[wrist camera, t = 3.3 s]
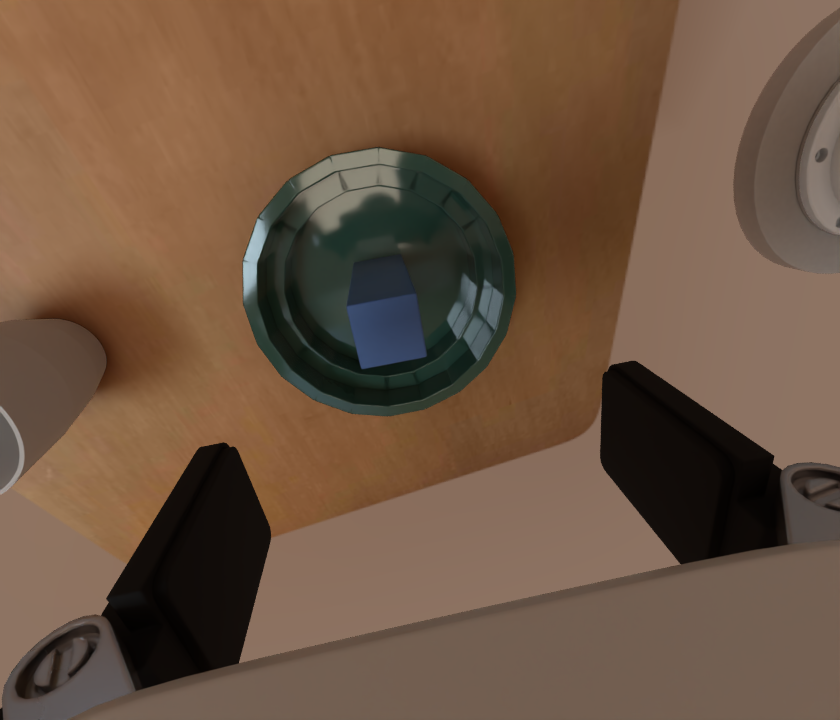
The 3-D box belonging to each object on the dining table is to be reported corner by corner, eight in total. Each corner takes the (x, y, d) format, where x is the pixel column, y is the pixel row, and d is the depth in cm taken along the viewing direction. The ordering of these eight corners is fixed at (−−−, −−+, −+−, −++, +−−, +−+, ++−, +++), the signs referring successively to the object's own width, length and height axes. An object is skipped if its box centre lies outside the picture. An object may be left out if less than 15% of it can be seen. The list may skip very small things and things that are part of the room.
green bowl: (481, 133, 26) (505, 124, 21) (501, 360, 32) (522, 390, 28) (229, 177, 25) (198, 178, 21) (300, 398, 32) (289, 436, 27)
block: (401, 253, 28) (416, 292, 18) (409, 300, 29) (427, 357, 20) (353, 262, 27) (345, 306, 18) (363, 308, 29) (361, 370, 20)
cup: (-18, 373, 28) (-202, 467, 19) (14, 271, 26) (-178, 323, 17) (109, 423, 31) (0, 527, 22) (148, 334, 28) (45, 408, 19)
